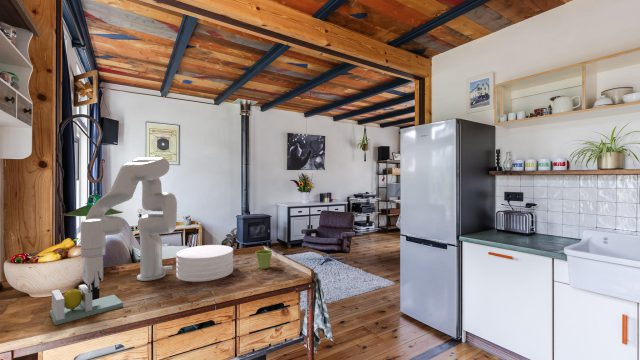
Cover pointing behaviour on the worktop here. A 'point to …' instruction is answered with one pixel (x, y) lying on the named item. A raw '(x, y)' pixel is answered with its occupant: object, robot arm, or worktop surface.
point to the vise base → (80, 308)
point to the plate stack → (204, 263)
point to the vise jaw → (86, 297)
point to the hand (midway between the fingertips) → (93, 299)
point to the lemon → (72, 299)
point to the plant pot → (263, 258)
